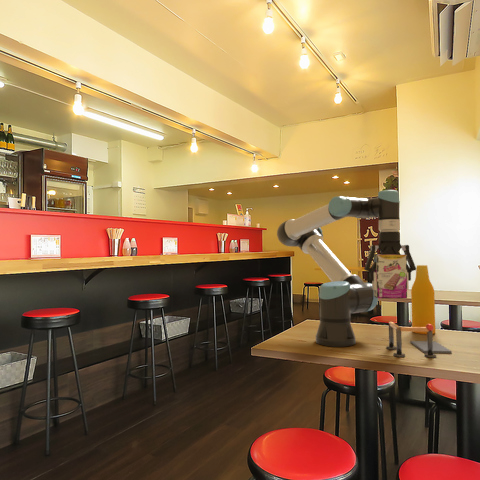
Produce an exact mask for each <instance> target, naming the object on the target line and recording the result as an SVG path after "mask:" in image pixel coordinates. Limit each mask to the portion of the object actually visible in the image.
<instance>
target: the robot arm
mask: <svg viewBox="0 0 480 480" xmlns="http://www.w3.org/2000/svg"><path fill="white" fill-rule="evenodd" d="M377 193H378V194H377V197H371V198H363V197H360V198H359V197H354V196H353V197H349V196H343V195H340V196H334V197H332V198H331V199H330V200H329V202H328V204H325V205H323V206H320V207H318V208H316V209H314V210H312V211H309V212H308V213H306V214H304V215H302V216H300V217H297V218H295V219H294V218H289V219H287V220H285V221H283V222H282V223H281V224H280V225H279V226H278V228H277V231H276V237H277V240H278V241H279V242H280V243H281V244H282V245H284V246H286V247H296V248H297V247H298V248H299V249H300V250H301V251H302V253H304V254H306V255H309V256H310V257H311V258H312V260H313V261H314V262H315V263H316V264H317V266H318V267H319V268H320V269H321V270H322V272H323V273H324V274H325V275H326V276H327V277H328V279H329V280H330V281H329V282H325V283H322V284H321V285H320V286H319V294H318V297H319V301H318V303H319V324H318V328H317V331H316V334H315V342H316V344H318V345H320V346H325V347H331V348H332V347H333V348H335V347H336V348H337V347H338V348H344V347H351V346H355V345H356V344H357V342H356V339H357V338H356V335H355V331H354V330H353V327H352V323H351V315H352V314H357V313H367V312H370V311H372V310H374V309H375V307H376V306H377V304H378V303H379V298H376V297H374V290H376V272H374V271H375V269H376V262H374V254H376V252H377V251H378V250H379V253H378V254H381V255H386V254H389V255H402V254H401V253H400V250H402V251H403V255H407V291H409V287H410V285H409V283H410V281H412V272H413V271H416V268H417V266H416V264H415V262H414V259H413V257H412V254H411V253H410V252H411V251H410V245H409V244H404V245H402V244H401V232H400V230H401V228H400V227H401V225H400V224H401V223H400V220H401V219H400V206H401V205H400V202H401V201H400V193H399V191H398V190H396V189H385V190H379V191H378V192H377ZM347 217H348V218H356V219H367V218H376V217H377V218H378V231H379V232H378V245H373V244H372V245H370V247H369V251H370V252H369V254H368V257H367V260H366V263H365V265H364V268H363V269H364V271H367V272H368V273H369V276H368V277H369V281H371V283H370V282H364V281H363V279H362V278H361V277H360V276H359V275H358V274H353V273H351V272H350V270H349V269H348V268H347V267H346V266H345V264H343V263H342V261H340V259H339V258H338V257H337V256H336V254H334V252H333V251H332V249H330V248H329V247H328V245H326V243H324V234H323V229H322V227H324V226H327V225H330V224H333V223H334V222H335V223H336V222H337V221H340V220H342V219H345V218H347ZM372 262H373V263H372Z"/></svg>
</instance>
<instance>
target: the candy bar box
mask: <svg viewBox="0 0 480 480" xmlns="http://www.w3.org/2000/svg"><path fill="white" fill-rule="evenodd" d="M374 262H376V269H375V271H374V272H376V290H374V297H376V298H378V299H408V290H407V265H408V261H407V255H405V254H401V255H389V254H386V255H381V254H379V253H378V254H377V253H375V254H374V257H373V263H374Z"/></svg>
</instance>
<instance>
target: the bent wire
mask: <svg viewBox="0 0 480 480" xmlns="http://www.w3.org/2000/svg"><path fill="white" fill-rule="evenodd" d="M433 329H434V327H433V325H431V324H427V325H426V327H412V326H400V325H398V324H396V323H395V322H393V321H388V345H386V346H385V347H386V348H385V349H387V350H391V351H392V350H394V351H395V350H396V352H394V353H393V357H396V358H405V357H406V354H405V353H404V352H403V347H402V344H403V343H402V332H413V331H420V332H427V334H426V338H427V339H426V341H427V346H428V353H424V354H423V355H424V357H426V358H427V359H428V358H430V359H436V358H437V354H436V353H433V334H432V330H433ZM394 330H395V331H394ZM394 332H395V333H396V334H395V333H394ZM394 335H396V336H394ZM394 337H396V338H395V339H396V340H395V341H396V345H395V341H394Z"/></svg>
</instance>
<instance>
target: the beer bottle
mask: <svg viewBox="0 0 480 480" xmlns="http://www.w3.org/2000/svg"><path fill="white" fill-rule="evenodd" d="M414 278H415V279H414V281H413V284H412V287H411V289H410V291H411V294H410V295H411V296H410V297H411V300H410V301H411V327H426V325H427V324H431V325H433V327H434V329H433V330H432V335H434V334H435V333H436V328H437V327H436V311H435V310H436V308H435V306H436V305H435V304H436V302H435V288H434V286H433V284H432V282H431V280H430V276H429V268H428V265H425V264H424V265H423V264H422V265H421V264H417V265H416V270H415V277H414ZM412 332H413V333H415V334H418V335H427V332H420V331H412Z"/></svg>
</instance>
